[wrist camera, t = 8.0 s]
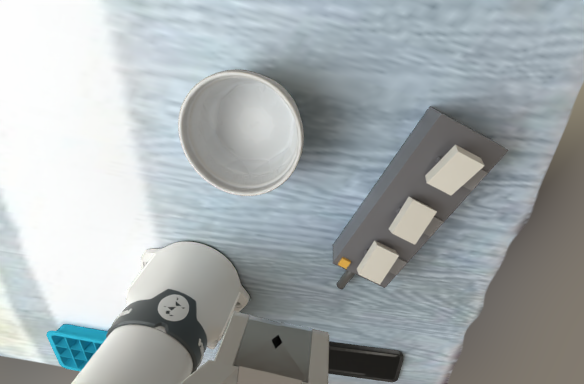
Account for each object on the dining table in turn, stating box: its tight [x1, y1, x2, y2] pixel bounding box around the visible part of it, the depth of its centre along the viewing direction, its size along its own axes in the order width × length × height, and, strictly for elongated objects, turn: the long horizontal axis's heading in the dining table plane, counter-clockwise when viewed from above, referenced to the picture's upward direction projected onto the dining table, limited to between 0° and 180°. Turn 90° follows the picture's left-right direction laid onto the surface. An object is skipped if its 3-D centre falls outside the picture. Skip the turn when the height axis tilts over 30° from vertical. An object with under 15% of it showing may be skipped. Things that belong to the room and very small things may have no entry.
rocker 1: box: [357, 240, 399, 284], centre depth 36 cm, size 4×3×1 cm
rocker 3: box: [425, 145, 485, 195], centre depth 30 cm, size 4×3×1 cm
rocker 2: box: [389, 197, 437, 245], centre depth 33 cm, size 4×3×1 cm
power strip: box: [333, 107, 508, 289], centre depth 37 cm, size 27×8×5 cm, turn 154°
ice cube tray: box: [46, 324, 108, 371], centre depth 61 cm, size 12×20×3 cm, turn 86°
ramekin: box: [178, 70, 304, 196], centre depth 33 cm, size 13×13×7 cm
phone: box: [328, 342, 403, 382], centre depth 53 cm, size 8×1×15 cm
